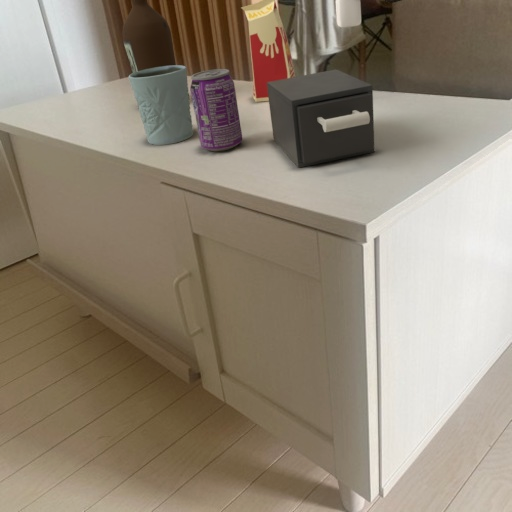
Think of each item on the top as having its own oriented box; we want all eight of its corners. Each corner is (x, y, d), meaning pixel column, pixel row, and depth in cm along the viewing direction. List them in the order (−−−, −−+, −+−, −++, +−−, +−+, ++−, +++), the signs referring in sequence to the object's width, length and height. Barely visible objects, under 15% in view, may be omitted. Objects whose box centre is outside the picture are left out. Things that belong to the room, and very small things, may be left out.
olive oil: (182, 95, 131) (159, -19, 119) (186, 104, 122) (161, -18, 110) (139, 103, 130) (111, -11, 118) (139, 113, 121) (110, -10, 109)
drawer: (386, 158, 73) (385, 100, 69) (313, 173, 72) (308, 115, 68) (340, 126, 89) (337, 77, 85) (280, 138, 87) (274, 90, 84)
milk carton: (296, 88, 121) (287, -10, 111) (291, 99, 113) (281, -6, 104) (257, 92, 123) (244, -4, 113) (249, 103, 115) (235, 0, 106)
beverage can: (214, 139, 95) (202, 69, 89) (250, 139, 92) (239, 67, 86) (193, 153, 90) (179, 79, 84) (230, 154, 87) (218, 77, 81)
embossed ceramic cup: (135, 147, 98) (118, 79, 92) (158, 130, 106) (143, 67, 100) (186, 144, 95) (172, 74, 89) (206, 127, 103) (194, 62, 97)
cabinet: (374, 152, 78) (372, 85, 74) (298, 168, 77) (291, 100, 72) (339, 127, 91) (336, 69, 87) (273, 141, 90) (266, 82, 85)
